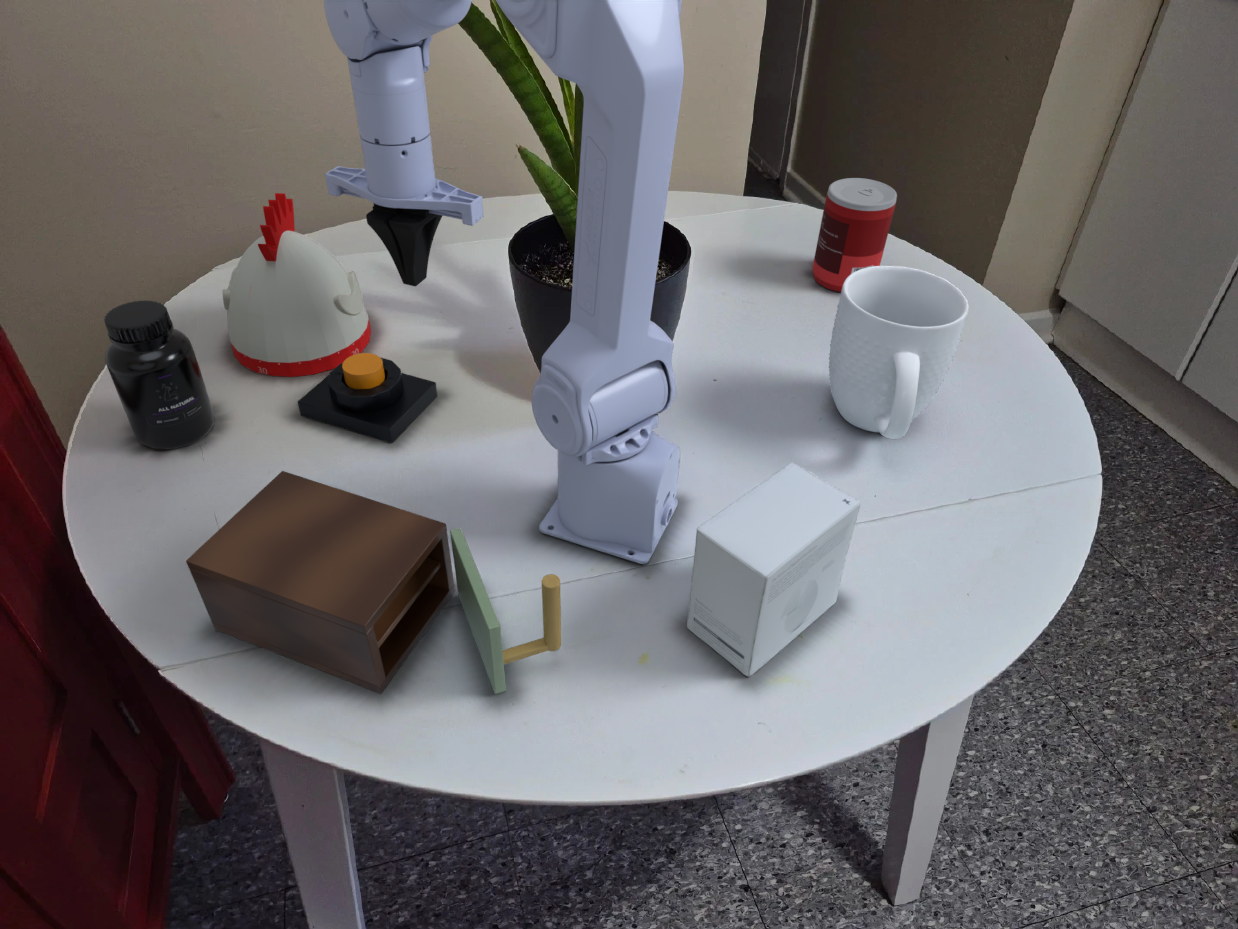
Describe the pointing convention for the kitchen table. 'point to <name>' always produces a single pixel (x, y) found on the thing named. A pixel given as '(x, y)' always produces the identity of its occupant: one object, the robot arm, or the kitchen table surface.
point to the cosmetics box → (769, 566)
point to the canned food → (852, 229)
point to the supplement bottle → (156, 376)
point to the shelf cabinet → (326, 578)
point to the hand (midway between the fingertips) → (414, 280)
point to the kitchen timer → (293, 302)
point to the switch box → (369, 403)
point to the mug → (892, 345)
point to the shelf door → (486, 620)
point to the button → (363, 371)
